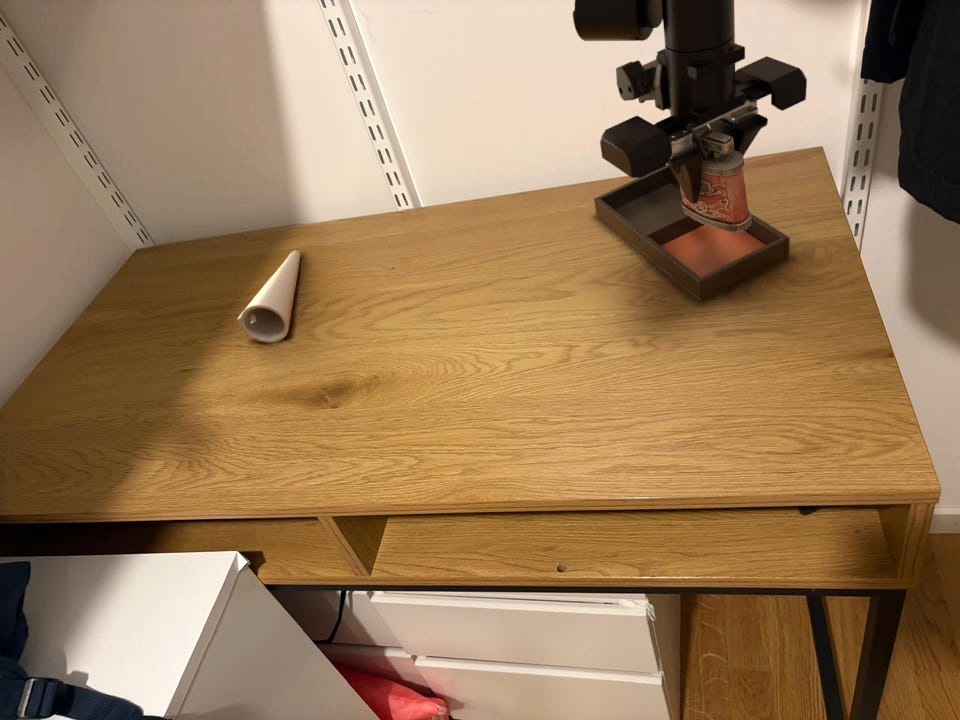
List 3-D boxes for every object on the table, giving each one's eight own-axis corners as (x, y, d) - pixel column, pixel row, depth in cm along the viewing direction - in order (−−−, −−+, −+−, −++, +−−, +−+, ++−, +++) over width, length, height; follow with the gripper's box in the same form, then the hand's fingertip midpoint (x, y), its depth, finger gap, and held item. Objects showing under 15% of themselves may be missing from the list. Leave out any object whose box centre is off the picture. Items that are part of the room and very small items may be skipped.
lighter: (675, 212, 78) (657, 130, 71) (697, 193, 78) (682, 110, 71) (736, 237, 72) (722, 150, 65) (760, 217, 73) (749, 129, 66)
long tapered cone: (339, 259, 109) (296, 337, 94) (302, 269, 111) (254, 347, 96) (321, 225, 106) (273, 300, 91) (283, 236, 108) (231, 311, 93)
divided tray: (672, 182, 99) (670, 162, 97) (789, 258, 83) (789, 237, 81) (596, 217, 98) (593, 198, 96) (700, 302, 81) (699, 282, 79)
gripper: (730, -19, 70) (733, 131, 81) (558, 55, 68) (584, 201, 78) (815, 4, 62) (806, 168, 73) (624, 90, 59) (643, 248, 70)
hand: (706, 195), depth 73 cm, fingers closed on lighter, 3 cm apart
